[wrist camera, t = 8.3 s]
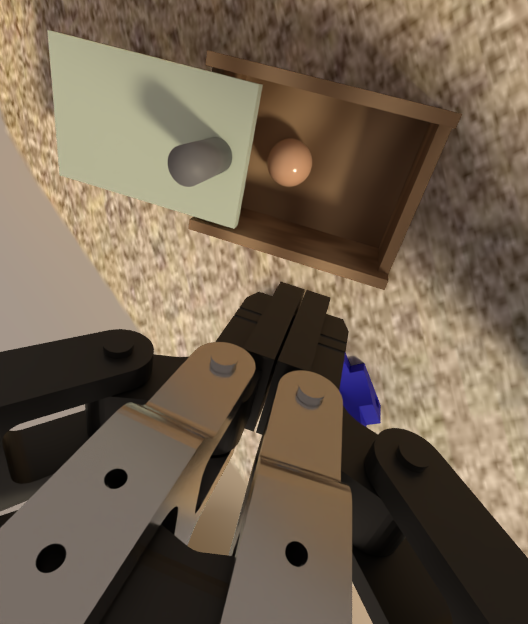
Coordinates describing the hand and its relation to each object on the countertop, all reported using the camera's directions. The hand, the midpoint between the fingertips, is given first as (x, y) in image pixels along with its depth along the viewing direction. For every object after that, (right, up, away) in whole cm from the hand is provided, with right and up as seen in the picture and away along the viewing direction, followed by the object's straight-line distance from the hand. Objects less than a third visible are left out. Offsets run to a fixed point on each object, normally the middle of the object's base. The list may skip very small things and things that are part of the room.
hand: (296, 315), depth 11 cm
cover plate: (-9, +13, +17) cm, 24 cm away
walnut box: (+4, +13, +21) cm, 25 cm away
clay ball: (+2, +13, +20) cm, 24 cm away
